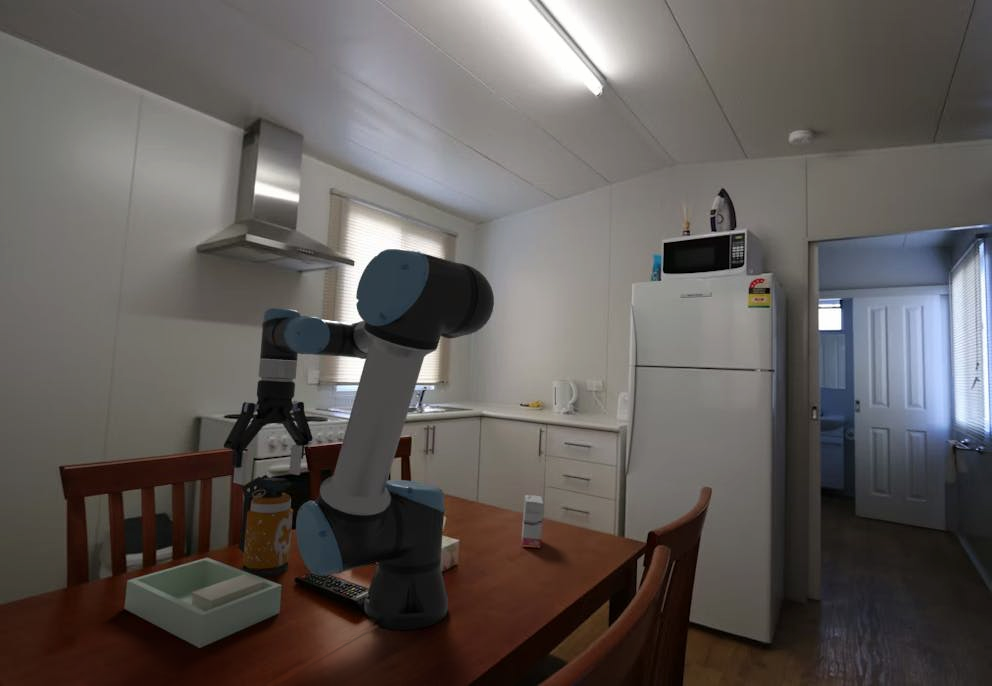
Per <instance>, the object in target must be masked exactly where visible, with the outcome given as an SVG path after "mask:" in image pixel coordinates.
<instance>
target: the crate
mask: <svg viewBox="0 0 992 686" xmlns="http://www.w3.org/2000/svg"><path fill="white" fill-rule="evenodd" d="M241 575H247V576H249V577H252V578H255V579H257V580H260V581H263V585H262V589H261V590H260V591H257V592H255V593H252V594H249V595H247V596H244V597H242V598H239V599H236V600H234V601H231V602H228V603H226V604H223V605H220V606H218V607H215V608H213V609H210V610H207V611H203V610H201V609H199V608H197V607H195V606H193V605H192V597H193V596H192V592H194V591H197V590H200V589H203V588H206V587H209V586H212V585H215V584H217V583H220V582H223V581H226V580H229V579H232V578H235V577H238V576H241ZM281 597H282V584H280V583H276V582H275V581H271V580H269V579H266V578H264V577H258V576H256V575H253V574H250V573H248V572H245V571H242V569H239V568H236V567H233V566H231V565H228V564H225V563H223V562H220V561H218V560H215V559H212V558H210V557H204V558H200V559H197V560H194V561H191V562H187V563H184V564H180V565H179V564H178V565H176V566H173V567H169V568H166V569H162V570H159V571H155V572H151V573H149V574H145V575H141V576H138V577H134V578H131V579H128V580H126V589H125V600H124V608H123V609H124V610H125V611H128V612H129V613H132V614H133V615H136V616H137V617H139V618H142V619H143V620H145V621H147V622H149V623H151V624H152V625H154V626H157V627H159V628H160V629H163V630H164V631H166V632H168V633H170V634H171V635H173V636H176V637H178V638H180V639H181V640H183V641H185V642H187V643H189V644H191V645H192V646H195V647H197V648H199V649H201V648H203V647H206V646H207V645H210V644H213V643H215V642H217V641H219V640H222V639H224V638H226V637H228V636H230V635H231V636H232V635H233V634H235V633H238V632H240V631H242V630H244V629H247V628H249V627H251V626H253V625H256V624H258V623H260V622H262V621H265V620H266V619H269V618H272V617H273V616H276V615H279V614H280V612H281V611H280V609H281V600H282V599H281Z"/></svg>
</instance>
